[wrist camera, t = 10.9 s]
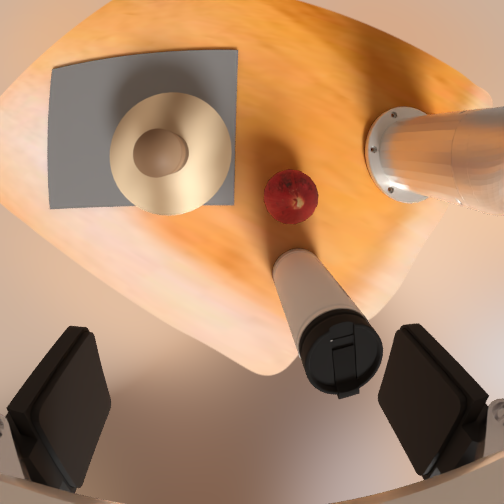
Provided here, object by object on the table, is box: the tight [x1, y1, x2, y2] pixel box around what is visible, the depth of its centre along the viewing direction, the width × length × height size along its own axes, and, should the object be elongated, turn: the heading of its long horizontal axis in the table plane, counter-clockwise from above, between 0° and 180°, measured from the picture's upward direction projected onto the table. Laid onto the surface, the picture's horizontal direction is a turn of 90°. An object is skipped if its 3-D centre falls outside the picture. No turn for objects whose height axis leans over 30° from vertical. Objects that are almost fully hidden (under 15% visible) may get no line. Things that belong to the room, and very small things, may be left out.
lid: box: [110, 92, 232, 216], centre depth 27 cm, size 12×12×6 cm
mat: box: [48, 50, 238, 209], centre depth 34 cm, size 24×19×1 cm
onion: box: [264, 169, 318, 224], centre depth 34 cm, size 6×6×8 cm
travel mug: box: [272, 248, 383, 399], centre depth 31 cm, size 6×7×20 cm
